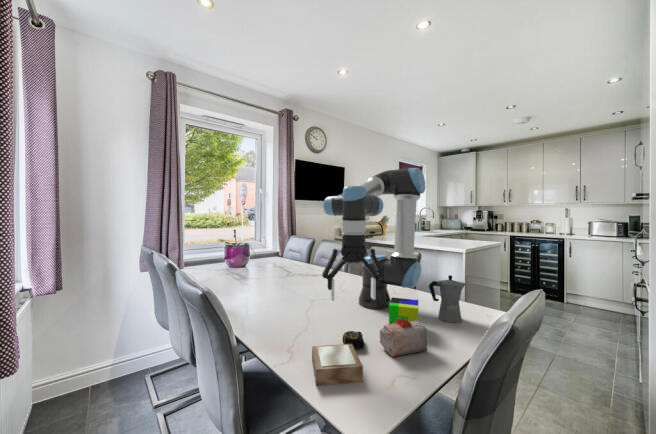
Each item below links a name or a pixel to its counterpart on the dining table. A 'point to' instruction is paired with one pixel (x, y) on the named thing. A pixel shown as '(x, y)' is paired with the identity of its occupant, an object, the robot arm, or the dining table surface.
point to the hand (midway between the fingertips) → (352, 299)
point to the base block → (336, 364)
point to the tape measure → (353, 339)
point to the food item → (403, 337)
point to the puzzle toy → (403, 310)
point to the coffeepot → (448, 299)
